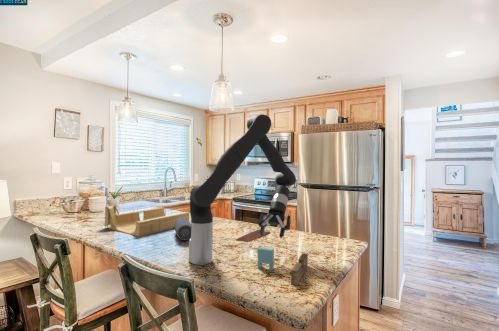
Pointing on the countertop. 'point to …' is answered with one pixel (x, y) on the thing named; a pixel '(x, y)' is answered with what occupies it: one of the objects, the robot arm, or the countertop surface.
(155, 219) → the skate ramp
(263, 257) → the teal notched bridge block
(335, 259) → the countertop surface
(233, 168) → the robot arm
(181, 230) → the bluetooth speaker
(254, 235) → the wooden tablet
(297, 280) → the walnut slotted plate
